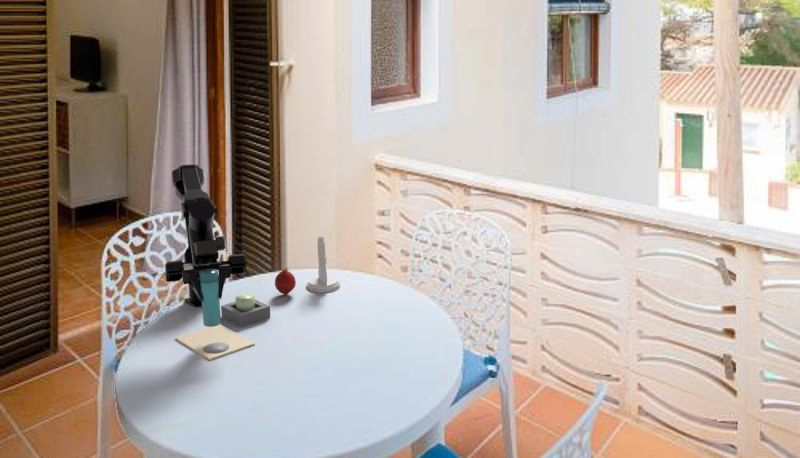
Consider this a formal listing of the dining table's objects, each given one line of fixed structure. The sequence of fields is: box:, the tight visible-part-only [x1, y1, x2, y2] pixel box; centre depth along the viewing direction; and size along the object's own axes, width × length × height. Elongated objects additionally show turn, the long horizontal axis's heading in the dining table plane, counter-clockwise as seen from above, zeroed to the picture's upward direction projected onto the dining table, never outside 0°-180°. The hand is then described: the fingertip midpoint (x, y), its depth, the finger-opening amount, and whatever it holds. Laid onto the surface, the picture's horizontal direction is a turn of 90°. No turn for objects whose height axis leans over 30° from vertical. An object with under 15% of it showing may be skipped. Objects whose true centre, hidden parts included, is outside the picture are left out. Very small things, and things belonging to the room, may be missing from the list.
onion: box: [274, 267, 297, 296], centre depth 199 cm, size 6×6×8 cm
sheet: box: [174, 323, 256, 361], centre depth 169 cm, size 16×12×1 cm
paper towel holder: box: [305, 235, 341, 293], centre depth 205 cm, size 10×10×15 cm
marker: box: [199, 269, 222, 327], centre depth 167 cm, size 4×4×13 cm
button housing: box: [220, 299, 271, 327], centre depth 184 cm, size 9×9×3 cm
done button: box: [235, 293, 256, 312], centre depth 183 cm, size 5×5×4 cm
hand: (211, 299), depth 166 cm, fingers closed on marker, 4 cm apart
